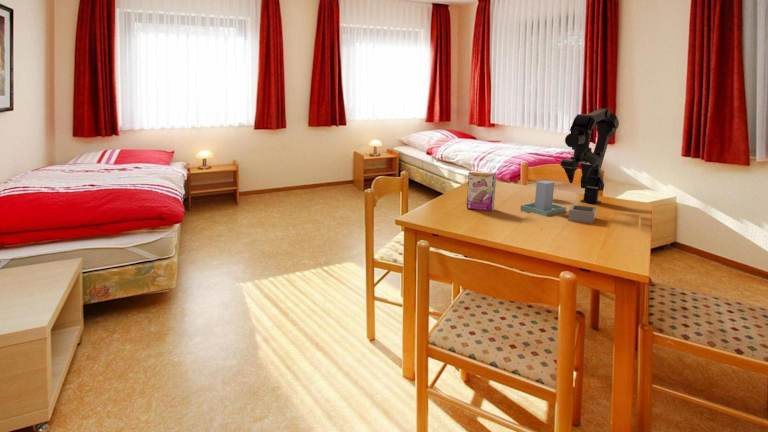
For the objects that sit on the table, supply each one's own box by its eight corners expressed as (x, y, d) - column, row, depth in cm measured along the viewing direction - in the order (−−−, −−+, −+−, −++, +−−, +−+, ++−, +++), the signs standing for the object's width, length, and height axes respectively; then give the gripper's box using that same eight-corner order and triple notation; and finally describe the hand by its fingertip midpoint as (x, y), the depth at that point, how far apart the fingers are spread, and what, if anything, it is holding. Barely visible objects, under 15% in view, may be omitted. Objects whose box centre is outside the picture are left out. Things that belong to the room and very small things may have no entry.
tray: (540, 206, 207) (540, 201, 206) (565, 212, 196) (566, 207, 196) (520, 210, 200) (520, 205, 199) (545, 217, 190) (546, 212, 189)
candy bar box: (466, 209, 203) (467, 172, 198) (469, 206, 207) (470, 170, 203) (491, 211, 198) (494, 174, 194) (494, 209, 203) (496, 172, 198)
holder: (571, 216, 191) (572, 204, 190) (594, 219, 187) (596, 207, 185) (568, 222, 183) (569, 209, 182) (592, 225, 179) (594, 212, 178)
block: (542, 207, 201) (545, 180, 198) (551, 210, 197) (554, 182, 194) (534, 209, 199) (536, 181, 196) (543, 211, 195) (546, 183, 191)
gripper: (585, 149, 183) (581, 187, 187) (612, 145, 193) (608, 182, 197) (561, 146, 192) (557, 183, 196) (588, 142, 202) (584, 178, 206)
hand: (577, 181), depth 199 cm, fingers open, 9 cm apart
